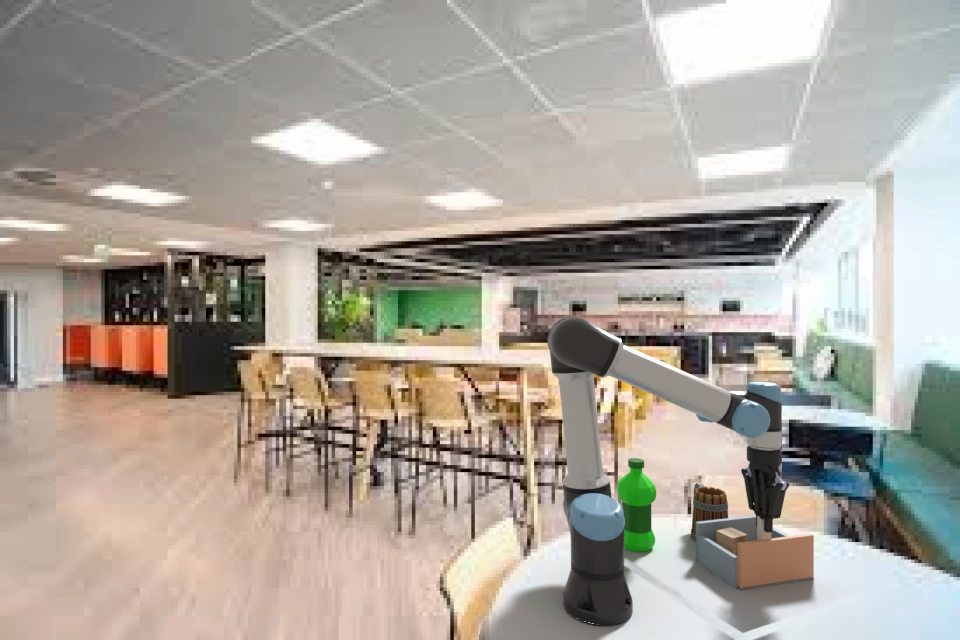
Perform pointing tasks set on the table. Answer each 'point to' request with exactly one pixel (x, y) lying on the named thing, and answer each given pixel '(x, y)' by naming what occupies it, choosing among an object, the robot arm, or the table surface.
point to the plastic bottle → (637, 507)
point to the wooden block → (730, 539)
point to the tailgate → (775, 561)
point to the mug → (708, 505)
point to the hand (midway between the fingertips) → (764, 543)
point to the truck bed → (716, 555)
